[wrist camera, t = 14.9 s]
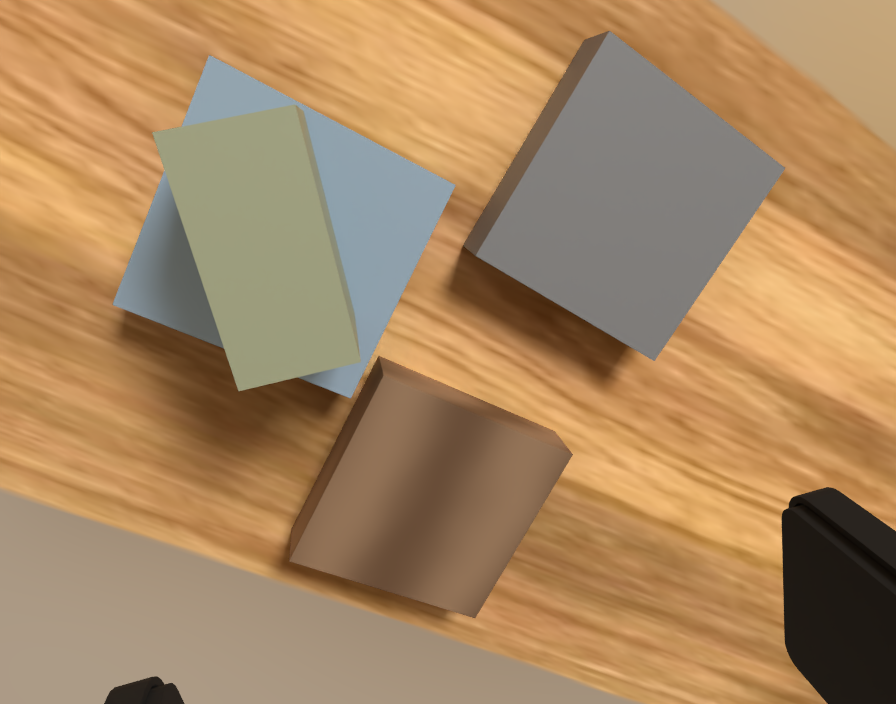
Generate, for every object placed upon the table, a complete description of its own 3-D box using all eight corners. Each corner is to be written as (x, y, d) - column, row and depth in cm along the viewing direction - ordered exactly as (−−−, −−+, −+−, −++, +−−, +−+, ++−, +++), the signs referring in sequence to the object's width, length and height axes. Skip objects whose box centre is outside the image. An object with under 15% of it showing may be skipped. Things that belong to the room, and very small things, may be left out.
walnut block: (551, 427, 33) (572, 454, 31) (463, 580, 35) (475, 618, 33) (378, 353, 30) (383, 375, 28) (291, 524, 32) (289, 561, 30)
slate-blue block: (442, 180, 28) (455, 185, 26) (348, 374, 31) (350, 398, 28) (221, 63, 26) (209, 55, 23) (133, 287, 28) (112, 304, 25)
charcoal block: (743, 165, 31) (785, 168, 28) (625, 341, 33) (654, 361, 30) (580, 41, 28) (609, 30, 25) (461, 244, 29) (475, 255, 27)
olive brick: (303, 110, 24) (295, 104, 18) (354, 313, 27) (360, 362, 21) (195, 132, 23) (151, 132, 18) (258, 336, 26) (238, 391, 21)
